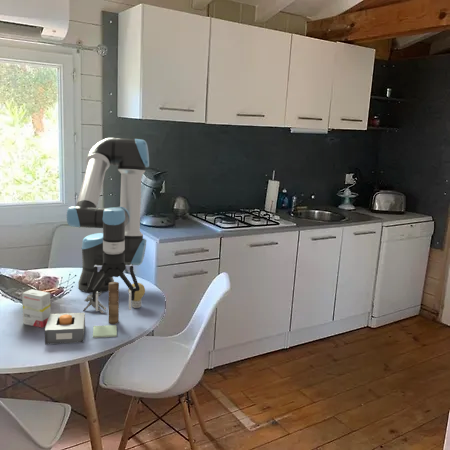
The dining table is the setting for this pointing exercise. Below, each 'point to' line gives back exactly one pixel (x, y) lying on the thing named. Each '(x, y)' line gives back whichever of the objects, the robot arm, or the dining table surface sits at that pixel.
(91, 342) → the dining table surface
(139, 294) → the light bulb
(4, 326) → the dining table surface
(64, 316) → the button
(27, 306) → the ink box
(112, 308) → the walnut dowel
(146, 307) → the dining table surface
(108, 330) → the mat
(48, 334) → the grey square holder
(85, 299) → the elephant figurine
